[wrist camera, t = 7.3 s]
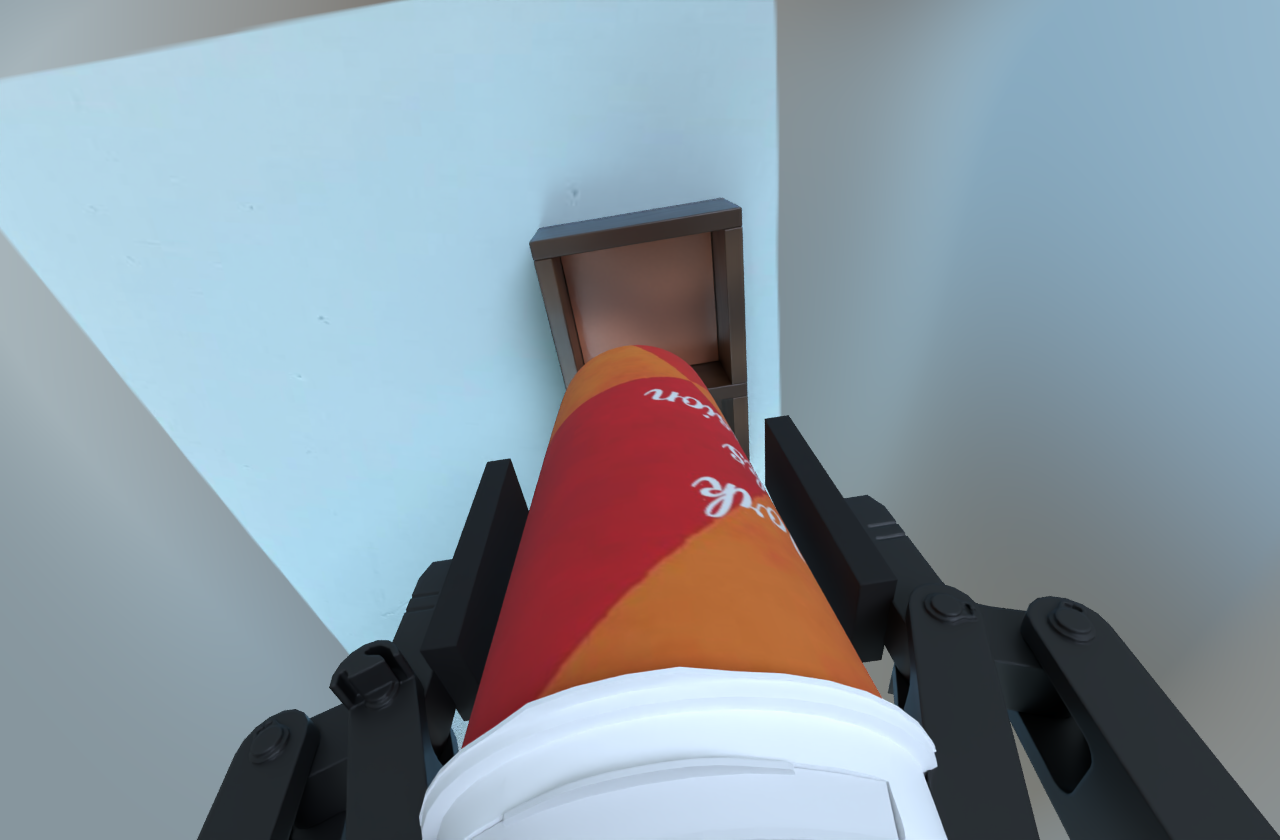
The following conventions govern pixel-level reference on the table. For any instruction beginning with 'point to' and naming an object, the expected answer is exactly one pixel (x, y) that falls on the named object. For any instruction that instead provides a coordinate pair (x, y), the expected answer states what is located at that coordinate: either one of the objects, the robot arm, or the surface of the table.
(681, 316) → the cup holder
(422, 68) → the table surface
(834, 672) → the coffee cup
